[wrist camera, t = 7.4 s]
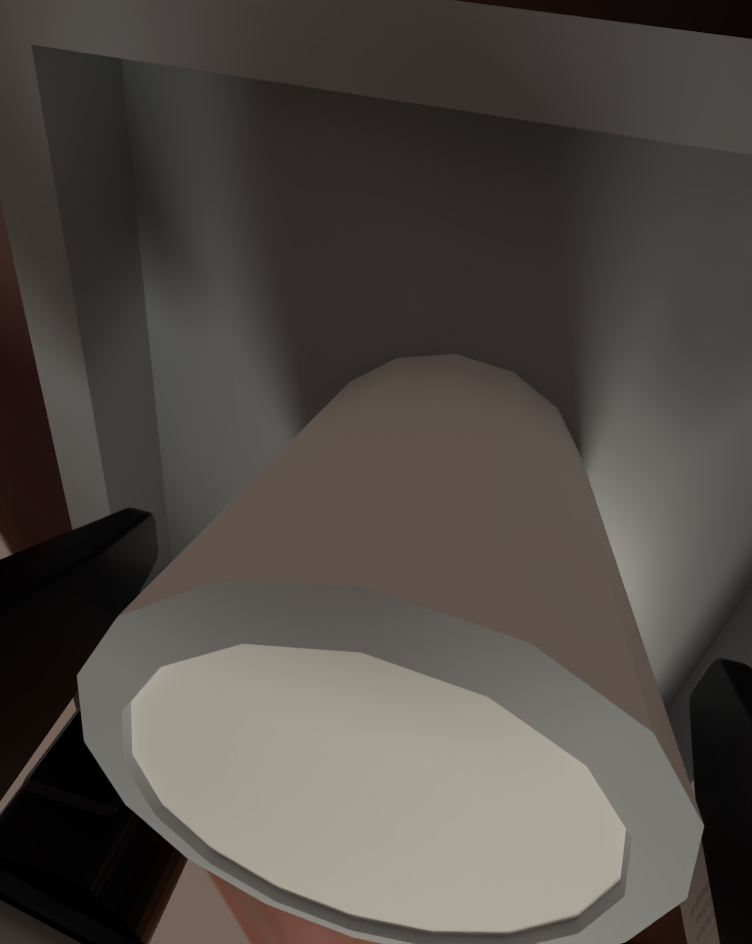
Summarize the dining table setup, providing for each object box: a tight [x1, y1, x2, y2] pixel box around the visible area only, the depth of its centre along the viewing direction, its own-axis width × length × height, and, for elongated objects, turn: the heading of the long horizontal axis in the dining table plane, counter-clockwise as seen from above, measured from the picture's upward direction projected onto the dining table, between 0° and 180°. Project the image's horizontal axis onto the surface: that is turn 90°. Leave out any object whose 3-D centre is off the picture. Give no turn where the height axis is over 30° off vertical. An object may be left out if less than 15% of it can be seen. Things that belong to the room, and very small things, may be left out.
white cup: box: [77, 354, 704, 944], centre depth 9 cm, size 7×7×7 cm
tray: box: [0, 0, 752, 797], centre depth 12 cm, size 15×15×3 cm
